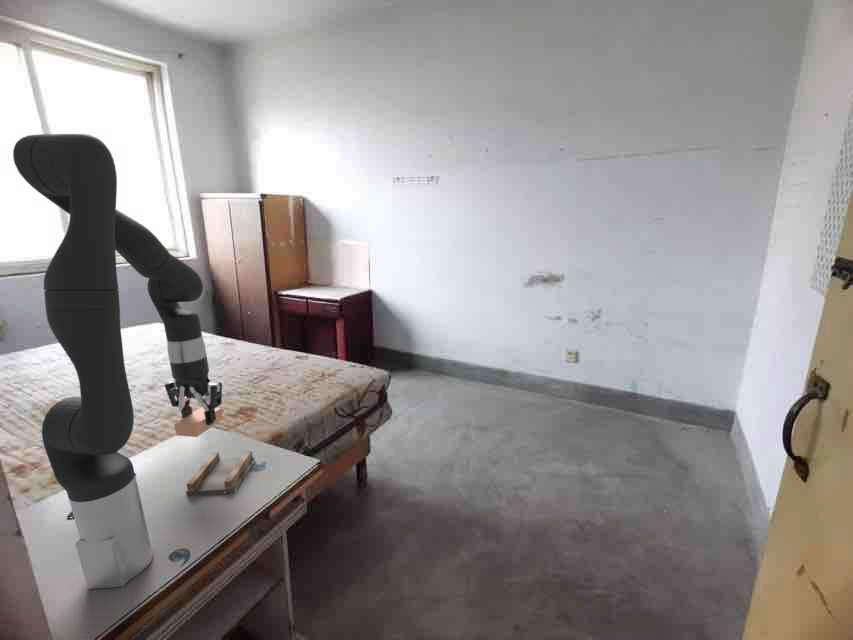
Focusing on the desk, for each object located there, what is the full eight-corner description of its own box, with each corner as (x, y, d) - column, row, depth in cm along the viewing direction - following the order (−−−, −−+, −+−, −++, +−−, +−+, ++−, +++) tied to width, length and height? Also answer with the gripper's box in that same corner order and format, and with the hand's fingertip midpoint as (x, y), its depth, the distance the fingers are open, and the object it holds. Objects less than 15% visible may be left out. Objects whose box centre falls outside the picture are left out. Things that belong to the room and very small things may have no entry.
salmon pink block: (204, 417, 104) (202, 406, 103) (223, 418, 102) (221, 407, 102) (176, 435, 95) (174, 423, 94) (197, 437, 94) (194, 425, 93)
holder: (234, 492, 95) (232, 481, 94) (186, 495, 94) (184, 484, 94) (255, 460, 107) (253, 450, 107) (212, 463, 107) (210, 452, 106)
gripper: (226, 352, 97) (236, 417, 101) (174, 350, 99) (185, 414, 103) (203, 362, 90) (215, 432, 93) (148, 360, 92) (162, 428, 96)
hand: (199, 422), depth 98 cm, fingers closed on salmon pink block, 5 cm apart
